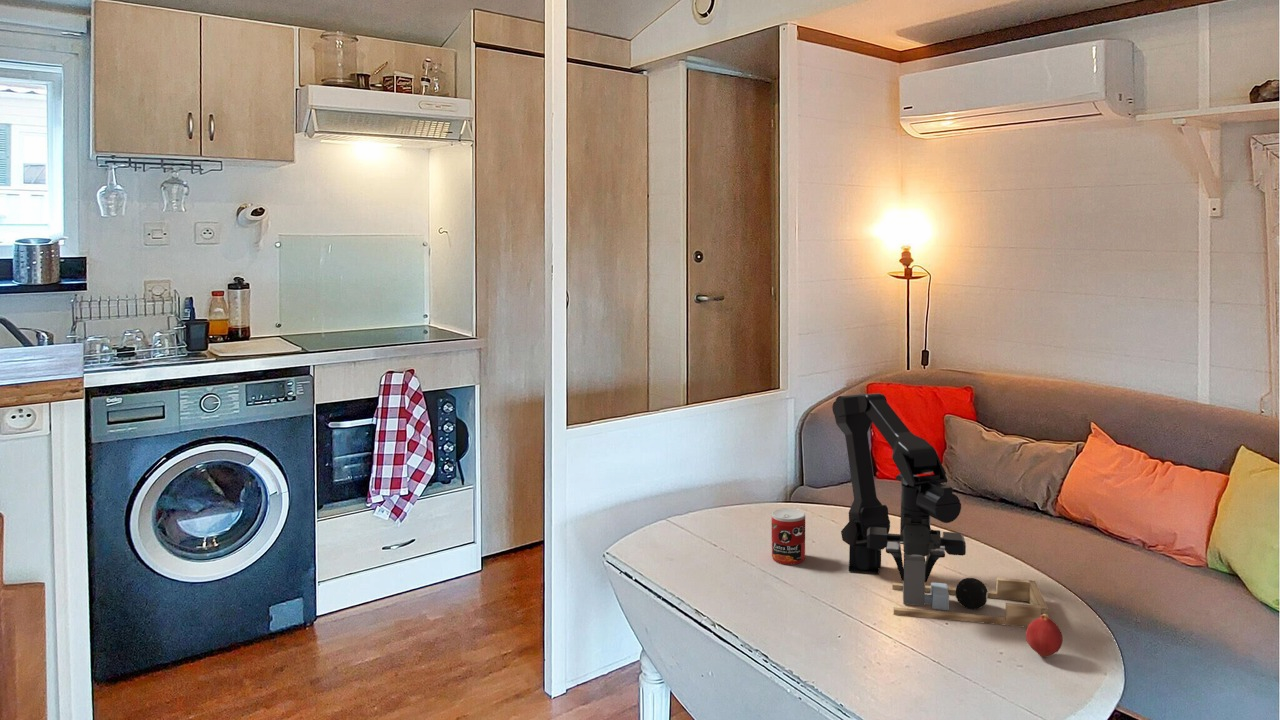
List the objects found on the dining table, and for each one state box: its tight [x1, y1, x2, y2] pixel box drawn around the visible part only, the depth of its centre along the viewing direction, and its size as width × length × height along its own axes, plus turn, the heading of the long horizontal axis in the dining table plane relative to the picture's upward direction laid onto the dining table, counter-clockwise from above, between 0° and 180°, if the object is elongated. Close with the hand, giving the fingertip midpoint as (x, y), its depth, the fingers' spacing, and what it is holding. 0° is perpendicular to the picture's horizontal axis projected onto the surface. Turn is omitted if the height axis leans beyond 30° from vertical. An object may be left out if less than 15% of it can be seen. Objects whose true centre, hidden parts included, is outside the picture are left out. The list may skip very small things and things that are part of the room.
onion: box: [1025, 614, 1064, 659], centre depth 145 cm, size 6×6×8 cm
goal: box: [996, 577, 1049, 628], centre depth 163 cm, size 7×13×4 cm, turn 164°
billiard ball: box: [955, 577, 989, 610], centre depth 165 cm, size 6×6×6 cm
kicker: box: [902, 552, 950, 611], centre depth 168 cm, size 8×6×9 cm
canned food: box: [771, 507, 806, 566], centre depth 193 cm, size 8×8×11 cm
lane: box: [891, 582, 1007, 626], centre depth 167 cm, size 20×13×1 cm, turn 74°
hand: (913, 581), depth 168 cm, fingers closed on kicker, 4 cm apart
